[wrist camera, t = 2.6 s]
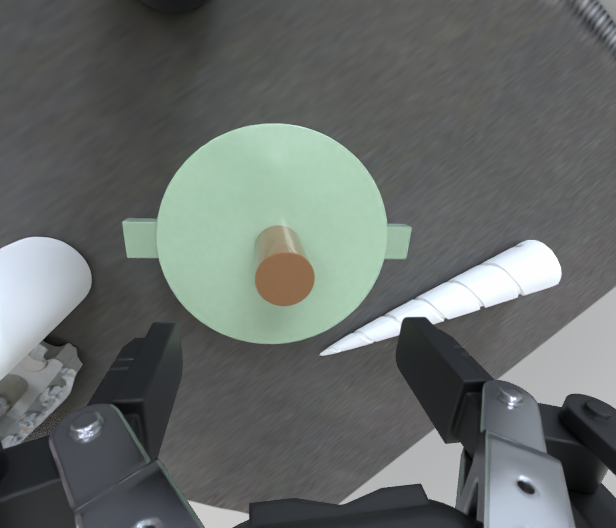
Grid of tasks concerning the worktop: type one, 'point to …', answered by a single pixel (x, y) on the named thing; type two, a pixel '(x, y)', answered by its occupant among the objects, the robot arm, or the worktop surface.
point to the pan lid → (271, 233)
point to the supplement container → (173, 5)
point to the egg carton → (35, 390)
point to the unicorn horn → (467, 292)
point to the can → (36, 293)
